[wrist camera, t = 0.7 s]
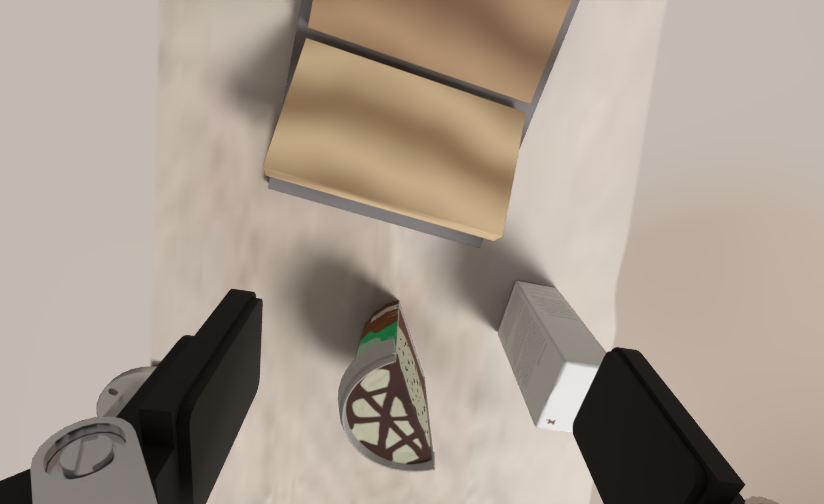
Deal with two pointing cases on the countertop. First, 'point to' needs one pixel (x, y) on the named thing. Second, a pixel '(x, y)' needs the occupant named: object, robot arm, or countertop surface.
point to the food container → (387, 396)
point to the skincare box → (549, 354)
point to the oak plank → (396, 142)
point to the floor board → (440, 60)
